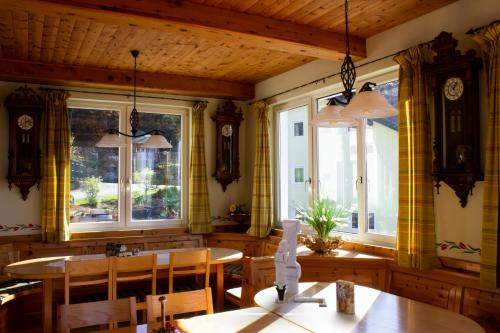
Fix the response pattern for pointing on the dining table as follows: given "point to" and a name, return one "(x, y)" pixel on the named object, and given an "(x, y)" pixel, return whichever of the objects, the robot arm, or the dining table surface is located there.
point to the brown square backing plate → (281, 302)
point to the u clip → (283, 300)
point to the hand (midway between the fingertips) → (281, 298)
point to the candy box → (345, 296)
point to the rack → (312, 300)
